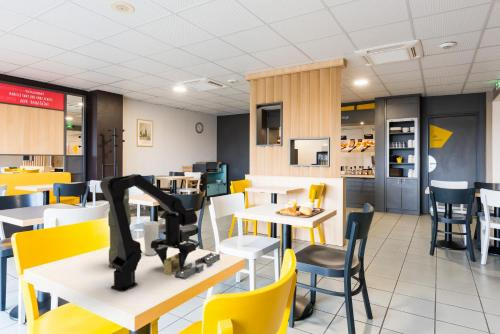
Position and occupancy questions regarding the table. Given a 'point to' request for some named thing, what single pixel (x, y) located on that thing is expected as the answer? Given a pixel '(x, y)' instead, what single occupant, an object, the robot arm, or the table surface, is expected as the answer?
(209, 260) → the chain end
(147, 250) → the drinking glass
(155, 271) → the table surface
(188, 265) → the chain end
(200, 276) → the table surface
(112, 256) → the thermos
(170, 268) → the link
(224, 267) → the table surface
